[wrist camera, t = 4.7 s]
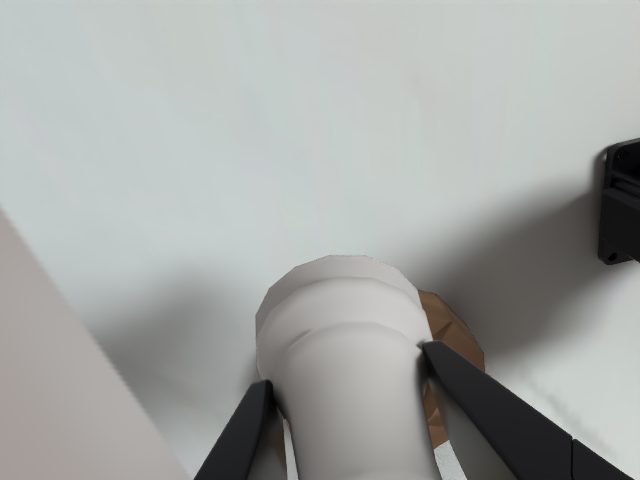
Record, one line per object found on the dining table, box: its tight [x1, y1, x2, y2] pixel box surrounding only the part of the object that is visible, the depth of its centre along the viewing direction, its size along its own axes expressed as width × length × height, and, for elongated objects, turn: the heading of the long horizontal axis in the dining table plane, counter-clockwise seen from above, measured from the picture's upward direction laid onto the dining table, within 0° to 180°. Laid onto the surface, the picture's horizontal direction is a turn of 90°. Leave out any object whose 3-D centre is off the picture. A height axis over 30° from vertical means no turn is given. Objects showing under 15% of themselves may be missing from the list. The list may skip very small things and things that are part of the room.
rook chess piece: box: [256, 255, 442, 480], centre depth 8 cm, size 4×4×8 cm
